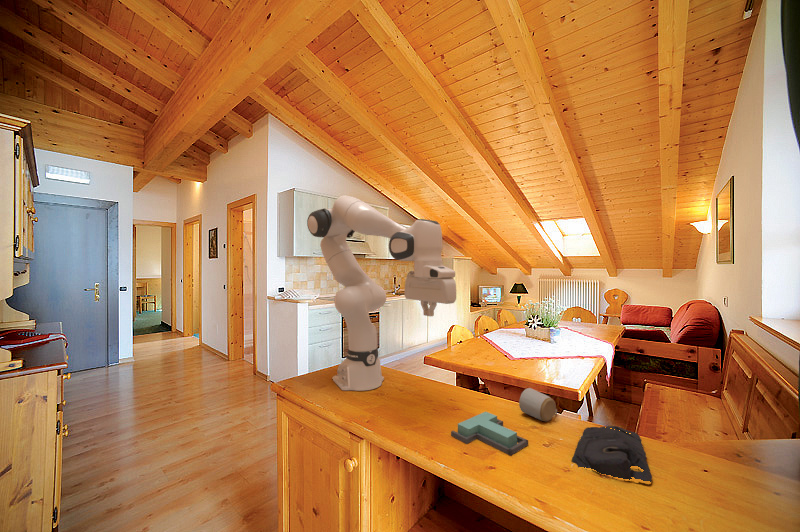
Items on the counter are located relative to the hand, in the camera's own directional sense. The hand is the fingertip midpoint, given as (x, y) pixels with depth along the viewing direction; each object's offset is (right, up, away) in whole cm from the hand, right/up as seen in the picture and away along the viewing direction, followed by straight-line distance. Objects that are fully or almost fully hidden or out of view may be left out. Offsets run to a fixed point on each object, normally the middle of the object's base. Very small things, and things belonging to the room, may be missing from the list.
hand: (428, 315), depth 105 cm
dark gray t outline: (+16, -30, -15) cm, 37 cm away
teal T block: (+16, -30, -14) cm, 37 cm away
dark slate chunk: (+42, -30, -24) cm, 57 cm away
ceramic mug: (+34, -30, -3) cm, 45 cm away
